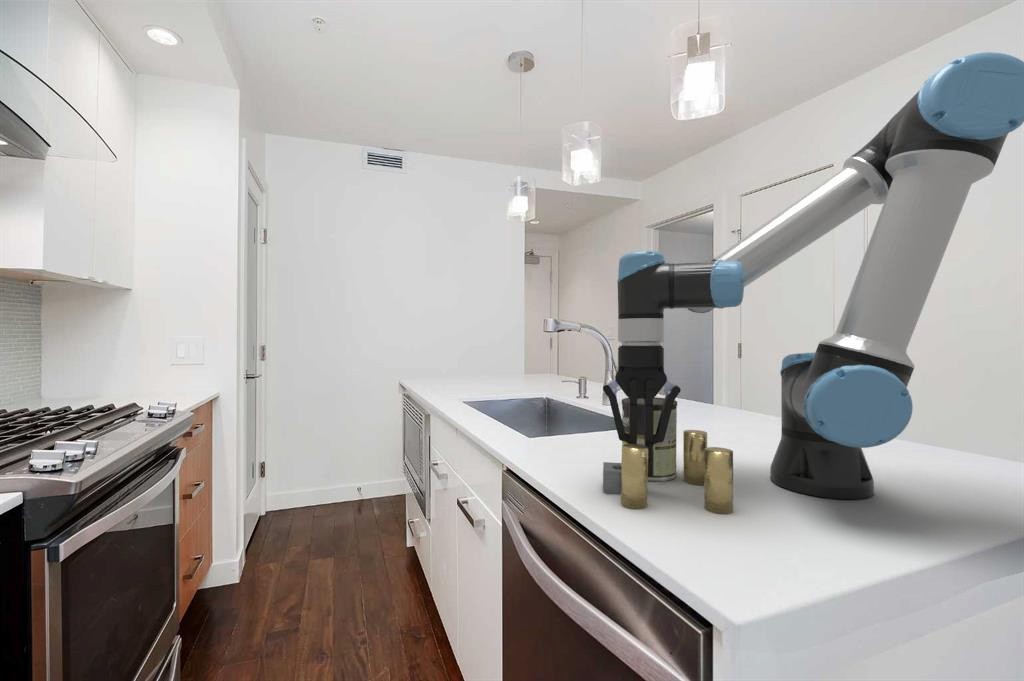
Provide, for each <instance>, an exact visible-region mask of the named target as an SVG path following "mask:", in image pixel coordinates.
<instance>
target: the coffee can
mask: <svg viewBox="0 0 1024 681" xmlns="http://www.w3.org/2000/svg"><path fill="white" fill-rule="evenodd" d="M664 399H665V397H657V396H655V397H654V398H653V435H654V434H656V430H657V426H658V422H659V418H660V415H661V411H662V407H663V403H664ZM677 407H678V401H677V400H676V399H675V400H674V403H673V407H672V411H671V415H670V419H669V422H668V426H667V430H666V434H665V438H664V441H663V442H661V443H660V442H659V443H656V444H654V445H653V462H652V464H648V482H665V481H670V480H671V481H672V480H674V479H675V478H677V475H678V474H677V420H678V419H677V415H678V414H677V413H678V412H677V410H678V408H677ZM621 408H622V412H621V418H622V422H623V426H624V430H625V433H627V434H629V397H625V398H622V399H621ZM621 442H622V444H621V446H622V445H625V444H628V443H627V442H625V441H621ZM637 443H645V440H644V399H642V398H640V399H637Z"/></svg>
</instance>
